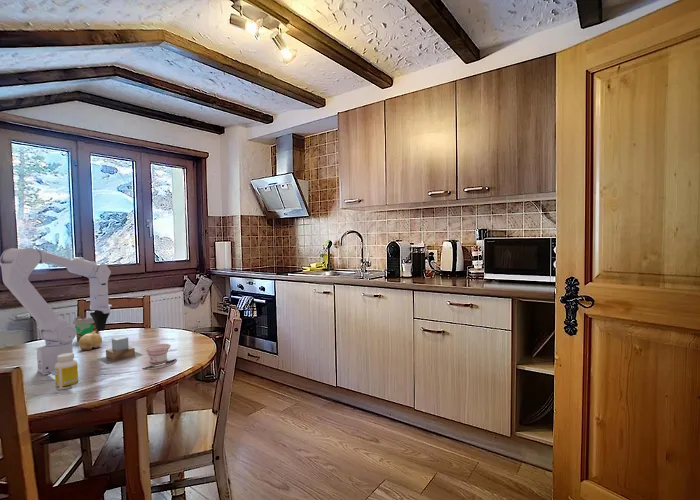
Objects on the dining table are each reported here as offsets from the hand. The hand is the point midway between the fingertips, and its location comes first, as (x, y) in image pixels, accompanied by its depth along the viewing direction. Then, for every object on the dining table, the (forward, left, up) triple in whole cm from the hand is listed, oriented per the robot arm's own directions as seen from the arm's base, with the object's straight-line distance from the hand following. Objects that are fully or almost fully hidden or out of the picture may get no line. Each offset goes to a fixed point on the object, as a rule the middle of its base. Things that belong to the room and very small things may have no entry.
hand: (100, 330), depth 139 cm
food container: (+4, +33, -10) cm, 35 cm away
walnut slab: (+2, -12, -9) cm, 15 cm away
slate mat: (+2, -12, -10) cm, 16 cm away
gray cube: (+2, -12, -6) cm, 14 cm away
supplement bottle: (-18, -26, -10) cm, 33 cm away
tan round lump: (+1, +15, -10) cm, 18 cm away
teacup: (+8, -29, -10) cm, 32 cm away
